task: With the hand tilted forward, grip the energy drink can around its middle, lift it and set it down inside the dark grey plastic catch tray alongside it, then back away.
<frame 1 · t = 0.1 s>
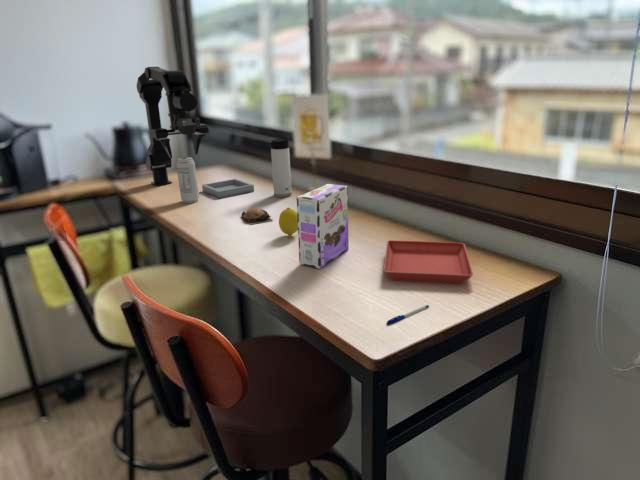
hand: (183, 156, 166), 15 cm above the table, tool pointing down, fingers open, 9 cm apart
abalone: (256, 220, 145), on the table
ballpoint pen: (408, 317, 87), on the table
travel mug: (283, 195, 169), on the table
lemon: (290, 236, 129), on the table
catch tray: (228, 191, 177), on the table
plant saucer: (425, 270, 107), on the table
candy box: (325, 257, 114), on the table
energy drink can: (190, 201, 166), on the table
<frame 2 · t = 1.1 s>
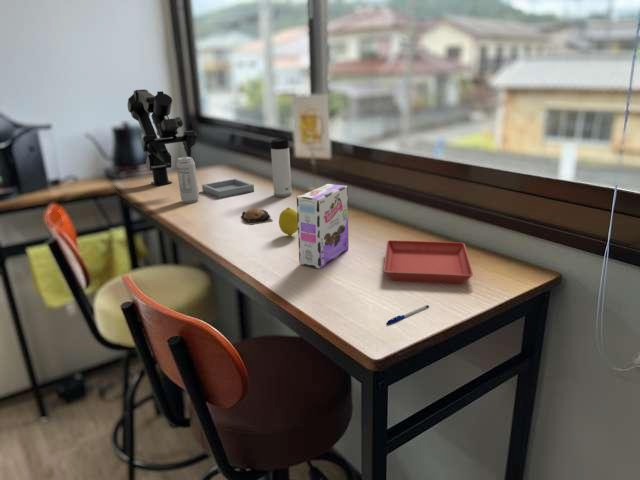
hand: (177, 159, 167), 13 cm above the table, tool tilted 45°, fingers open, 9 cm apart
nothing on the table moved.
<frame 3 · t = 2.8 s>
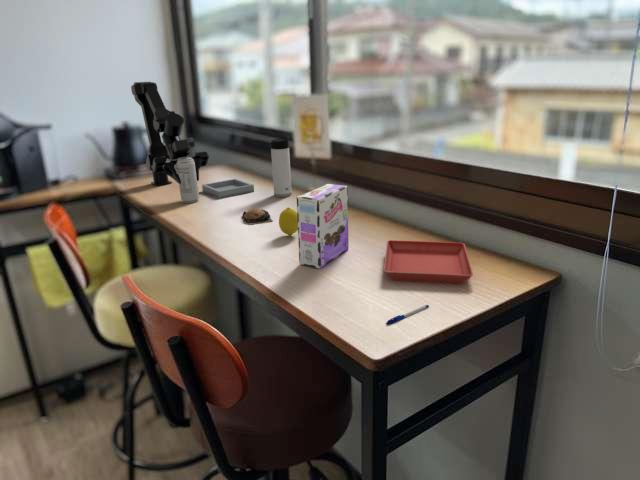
hand: (189, 181, 162), 7 cm above the table, tool tilted 45°, fingers closed on energy drink can, 6 cm apart
energy drink can: (190, 201, 166), on the table, touching gripper
everything else where it was.
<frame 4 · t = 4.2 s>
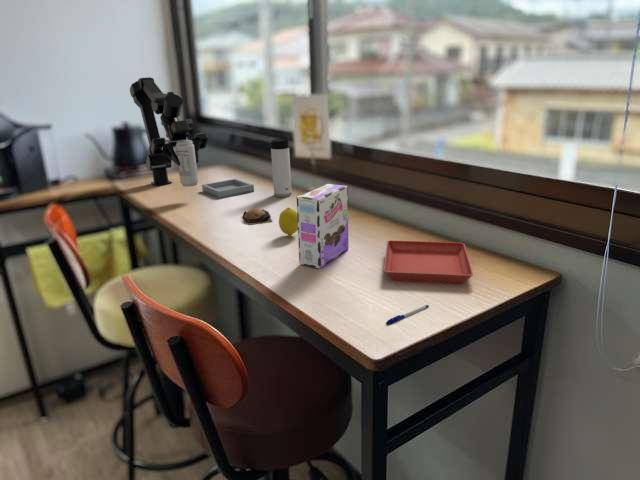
hand: (188, 163, 160), 13 cm above the table, tool tilted 45°, fingers closed on energy drink can, 6 cm apart
energy drink can: (190, 185, 164), point 5 cm above the table, touching gripper
everything else where it was.
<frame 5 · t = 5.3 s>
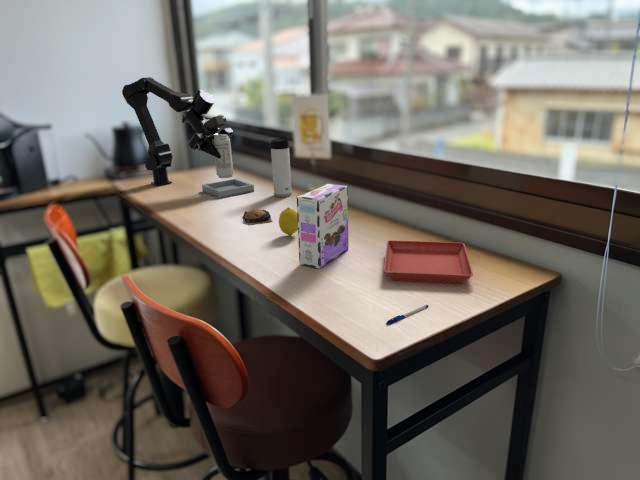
hand: (226, 156, 171), 13 cm above the table, tool tilted 45°, fingers closed on energy drink can, 6 cm apart
energy drink can: (225, 177, 174), point 5 cm above the table, touching gripper
everything else where it was.
when the fingers open (8 cm above the table, at t = 6.8 s): energy drink can stays where it is, resting on catch tray.
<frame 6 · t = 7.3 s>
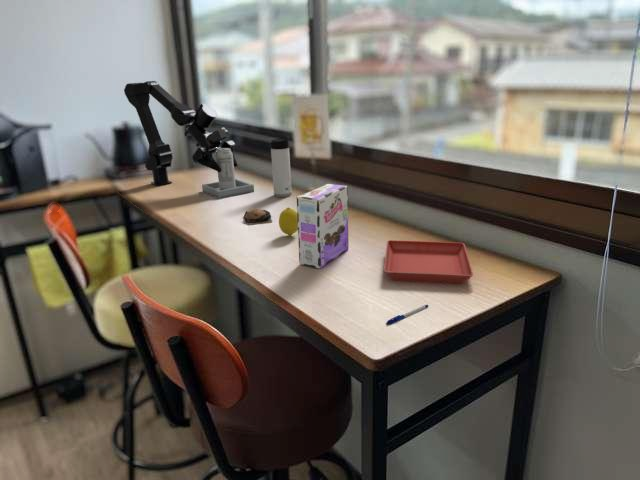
hand: (228, 168, 173), 9 cm above the table, tool tilted 45°, fingers open, 9 cm apart
energy drink can: (227, 190, 177), resting on catch tray
everything else where it was.
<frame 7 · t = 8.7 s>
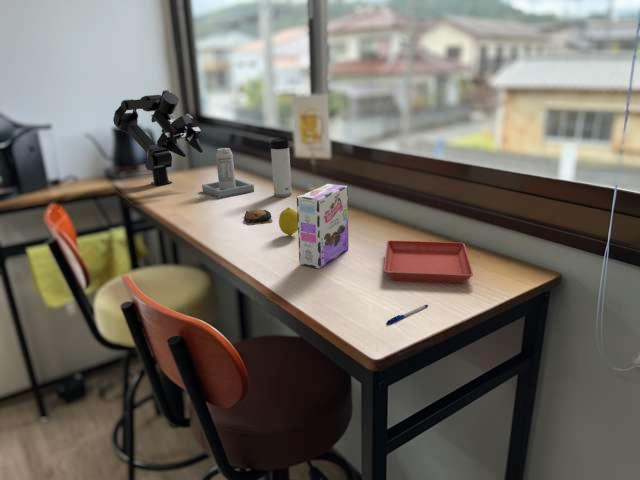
hand: (193, 154, 177), 13 cm above the table, tool tilted 45°, fingers open, 9 cm apart
nothing on the table moved.
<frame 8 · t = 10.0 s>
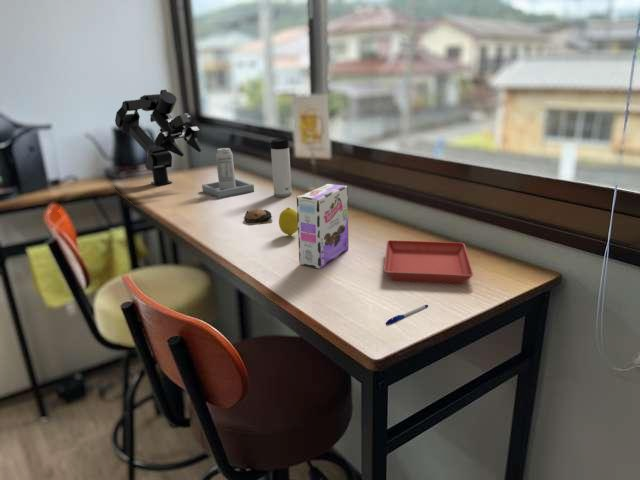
hand: (191, 153, 177), 14 cm above the table, tool tilted 45°, fingers open, 9 cm apart
nothing on the table moved.
at the end: energy drink can inside the target area on the catch tray (0.1 cm from its centre), point 0.4 cm above the catch tray's base; energy drink can tilted 0°; the gripper is holding nothing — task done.
